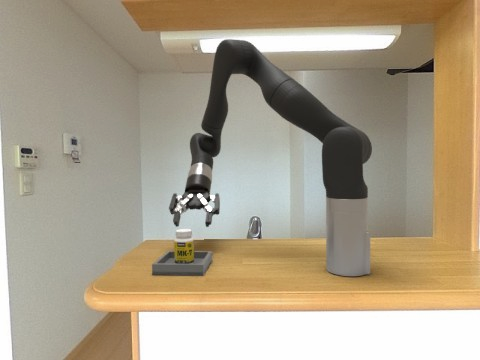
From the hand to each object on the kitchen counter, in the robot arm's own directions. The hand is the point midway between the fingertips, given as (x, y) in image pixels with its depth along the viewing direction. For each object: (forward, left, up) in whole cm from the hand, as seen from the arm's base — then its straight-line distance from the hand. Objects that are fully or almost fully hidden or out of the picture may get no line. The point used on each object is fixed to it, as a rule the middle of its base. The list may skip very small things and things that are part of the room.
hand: (191, 225), depth 93 cm
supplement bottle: (0, +10, -8) cm, 13 cm away
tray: (0, +10, -9) cm, 13 cm away
